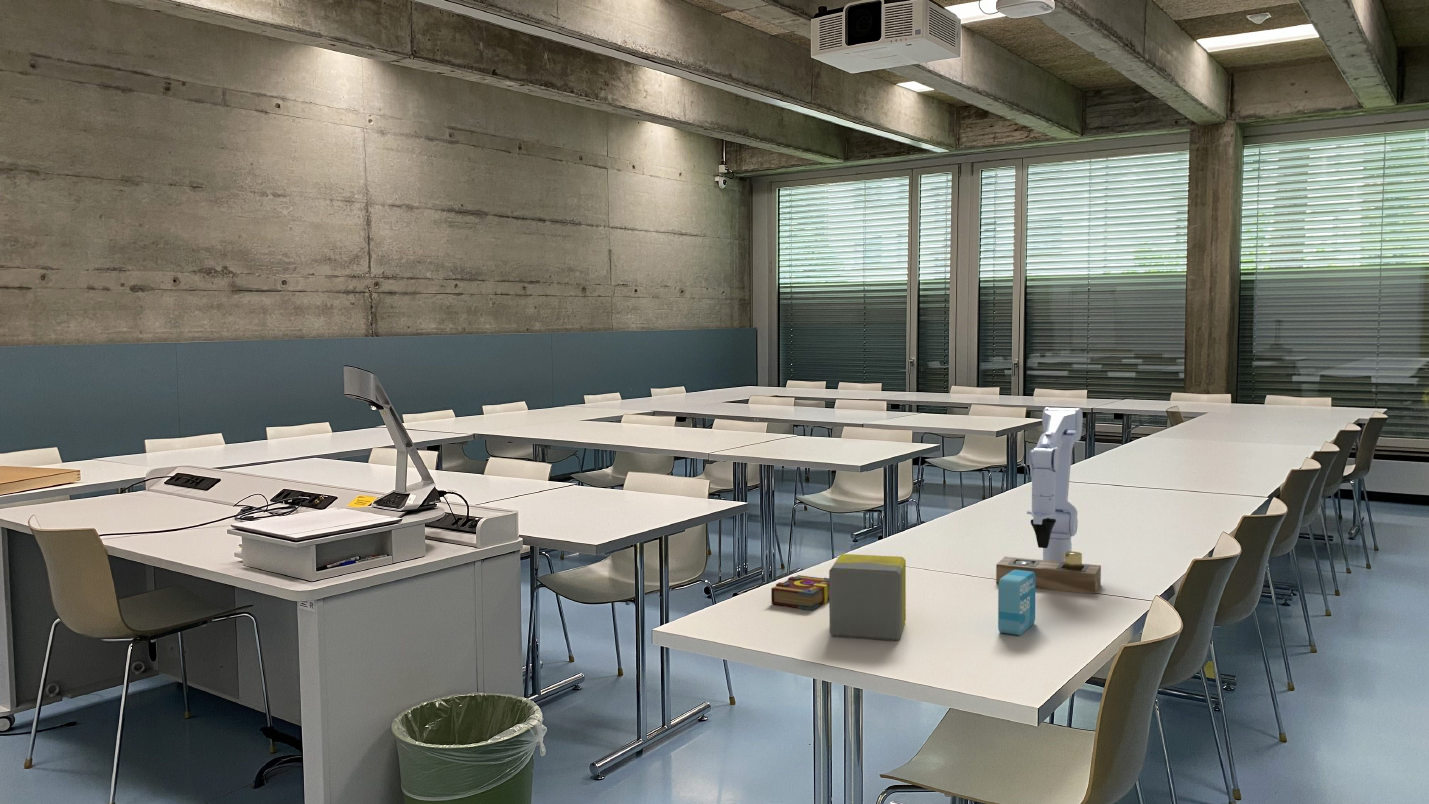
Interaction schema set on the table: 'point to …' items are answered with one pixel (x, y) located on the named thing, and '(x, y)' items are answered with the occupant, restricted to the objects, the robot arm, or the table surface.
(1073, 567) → the brass peg
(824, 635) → the table surface
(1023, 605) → the data package
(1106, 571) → the table surface
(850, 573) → the yellow-topped grey cube
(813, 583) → the decorative book
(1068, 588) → the wooden block
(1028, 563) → the steel peg
